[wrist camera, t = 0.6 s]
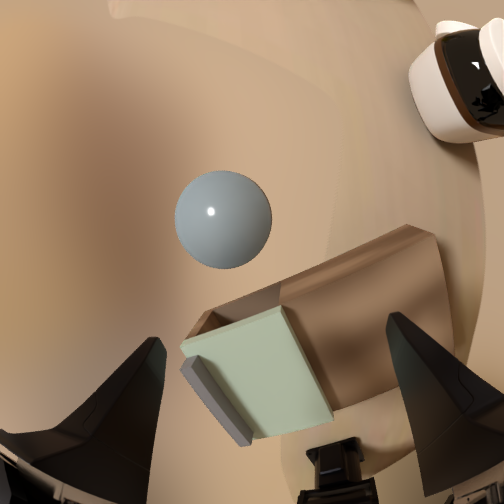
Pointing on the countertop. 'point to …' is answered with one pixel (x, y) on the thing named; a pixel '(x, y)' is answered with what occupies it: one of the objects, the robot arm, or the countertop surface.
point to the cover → (255, 378)
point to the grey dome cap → (223, 219)
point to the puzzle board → (355, 311)
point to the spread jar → (461, 82)
